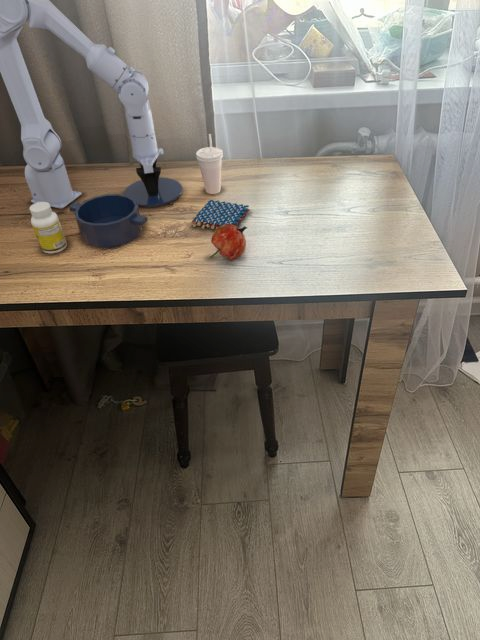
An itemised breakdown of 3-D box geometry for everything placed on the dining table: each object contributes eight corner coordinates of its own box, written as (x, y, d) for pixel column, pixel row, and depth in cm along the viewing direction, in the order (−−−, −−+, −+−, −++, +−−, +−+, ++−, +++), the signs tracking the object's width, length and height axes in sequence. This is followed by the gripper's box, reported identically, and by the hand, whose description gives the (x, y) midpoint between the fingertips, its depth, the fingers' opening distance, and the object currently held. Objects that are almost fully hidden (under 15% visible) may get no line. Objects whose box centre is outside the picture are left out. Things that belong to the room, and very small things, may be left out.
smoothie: (222, 197, 124) (217, 140, 114) (197, 195, 125) (190, 138, 115) (228, 185, 128) (224, 129, 118) (204, 183, 129) (198, 127, 119)
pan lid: (164, 213, 119) (161, 196, 116) (113, 203, 123) (108, 186, 120) (193, 186, 128) (191, 169, 125) (144, 177, 132) (141, 161, 129)
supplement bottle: (44, 241, 111) (29, 200, 104) (69, 239, 111) (55, 198, 105) (39, 255, 107) (22, 213, 100) (65, 253, 108) (50, 211, 101)
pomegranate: (219, 277, 104) (257, 250, 100) (195, 252, 100) (232, 222, 96) (222, 260, 110) (258, 234, 106) (199, 235, 106) (235, 207, 102)
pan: (131, 255, 107) (125, 232, 103) (59, 238, 112) (51, 216, 108) (163, 223, 115) (159, 201, 112) (95, 209, 121) (89, 188, 117)
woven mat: (209, 205, 121) (208, 197, 120) (250, 211, 118) (250, 203, 117) (190, 227, 114) (189, 219, 113) (234, 234, 111) (233, 226, 110)
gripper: (162, 143, 110) (171, 200, 120) (157, 119, 120) (166, 173, 130) (129, 146, 109) (141, 204, 119) (127, 122, 119) (138, 177, 129)
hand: (152, 188), depth 124 cm, fingers open, 6 cm apart
